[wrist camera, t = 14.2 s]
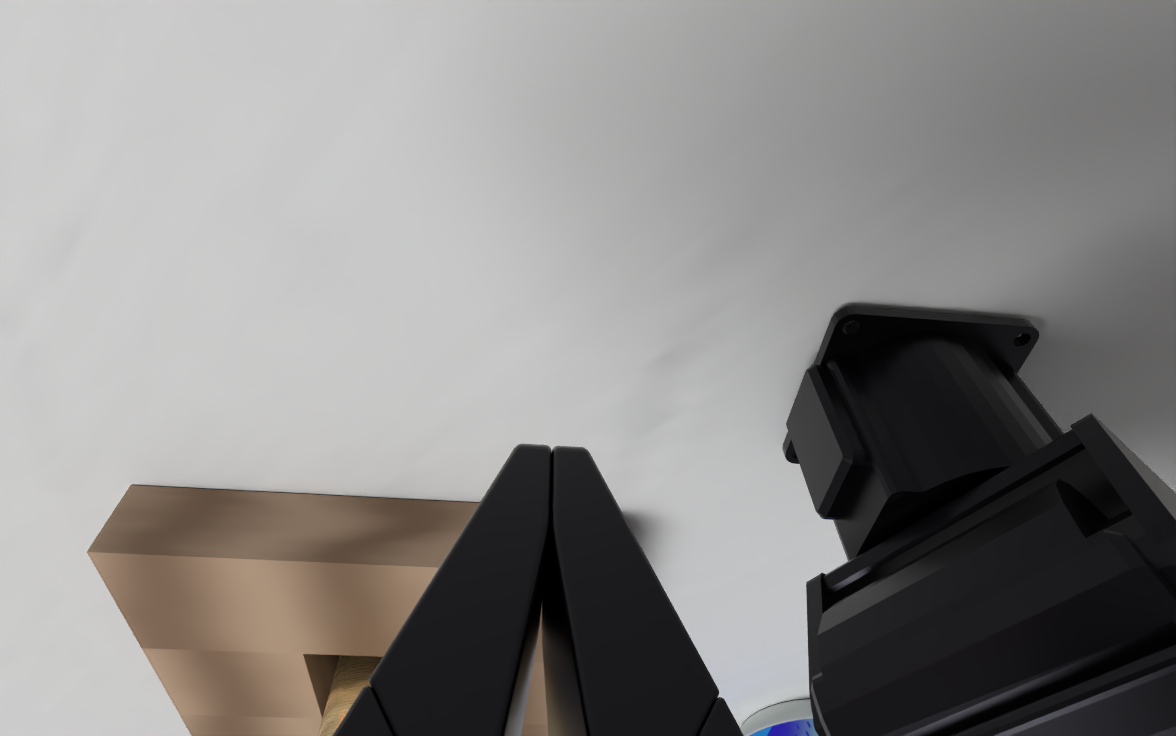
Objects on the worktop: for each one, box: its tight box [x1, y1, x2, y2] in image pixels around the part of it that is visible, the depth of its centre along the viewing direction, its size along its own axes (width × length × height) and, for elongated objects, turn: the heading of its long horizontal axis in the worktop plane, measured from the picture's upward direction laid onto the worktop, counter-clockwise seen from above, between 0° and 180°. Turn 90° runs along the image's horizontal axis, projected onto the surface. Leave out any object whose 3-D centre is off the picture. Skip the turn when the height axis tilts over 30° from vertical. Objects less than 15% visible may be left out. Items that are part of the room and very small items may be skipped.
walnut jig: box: [87, 485, 549, 736], centre depth 31 cm, size 18×18×3 cm
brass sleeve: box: [318, 655, 382, 736], centre depth 29 cm, size 4×4×8 cm
